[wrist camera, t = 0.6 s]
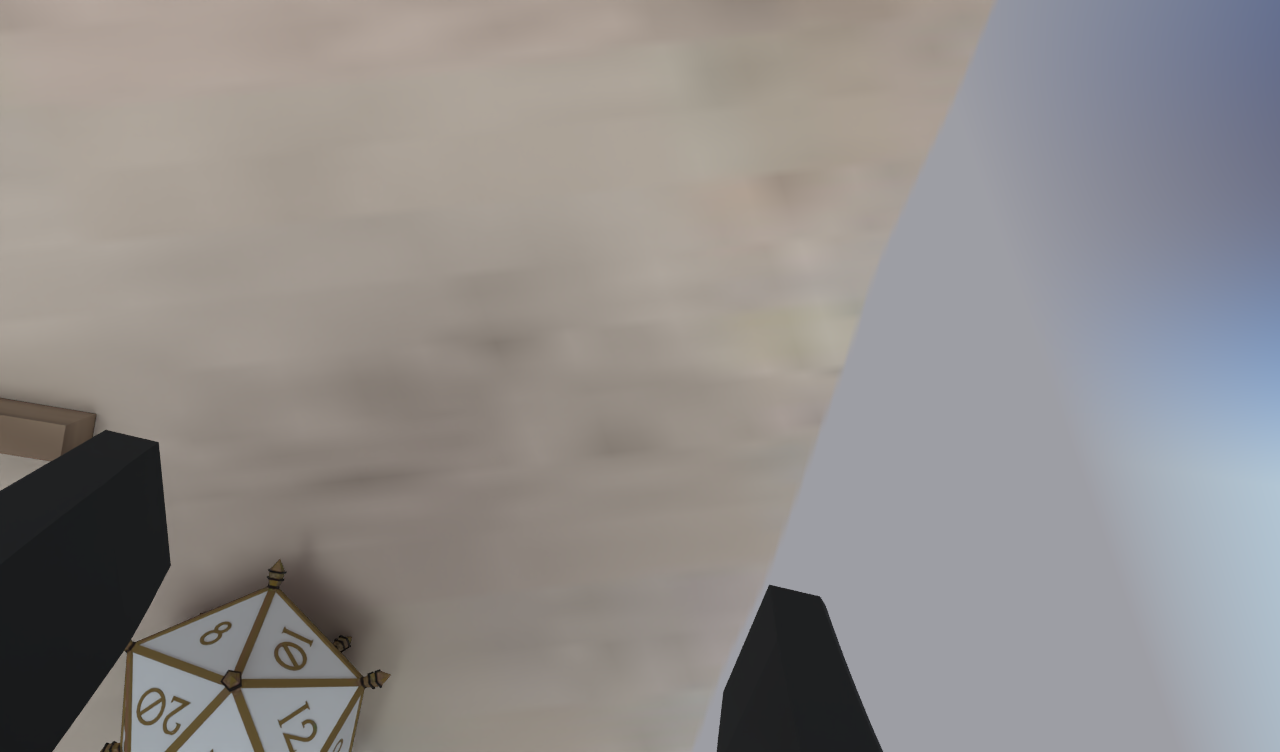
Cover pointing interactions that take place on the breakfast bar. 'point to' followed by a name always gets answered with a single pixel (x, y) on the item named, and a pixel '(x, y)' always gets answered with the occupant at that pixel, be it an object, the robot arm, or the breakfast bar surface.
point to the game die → (242, 682)
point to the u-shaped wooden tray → (42, 429)
